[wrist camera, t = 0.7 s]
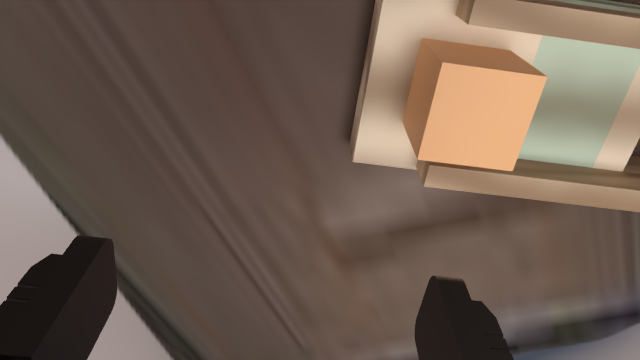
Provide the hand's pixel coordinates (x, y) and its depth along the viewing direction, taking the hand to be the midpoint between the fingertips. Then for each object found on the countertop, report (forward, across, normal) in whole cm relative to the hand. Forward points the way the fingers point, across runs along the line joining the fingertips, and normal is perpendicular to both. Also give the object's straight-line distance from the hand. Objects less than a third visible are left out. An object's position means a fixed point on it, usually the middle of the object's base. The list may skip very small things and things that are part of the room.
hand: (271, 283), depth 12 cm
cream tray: (+20, -16, 0) cm, 26 cm away
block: (+17, -9, 0) cm, 20 cm away
